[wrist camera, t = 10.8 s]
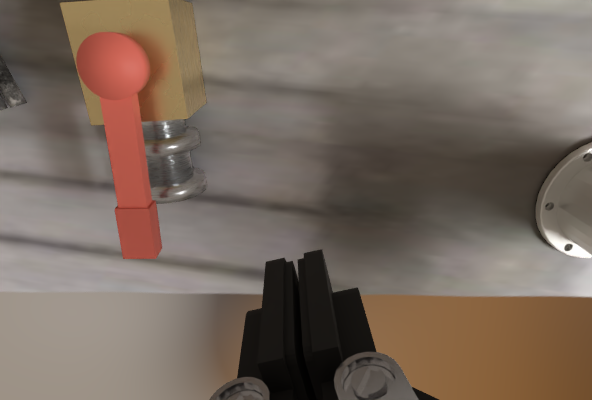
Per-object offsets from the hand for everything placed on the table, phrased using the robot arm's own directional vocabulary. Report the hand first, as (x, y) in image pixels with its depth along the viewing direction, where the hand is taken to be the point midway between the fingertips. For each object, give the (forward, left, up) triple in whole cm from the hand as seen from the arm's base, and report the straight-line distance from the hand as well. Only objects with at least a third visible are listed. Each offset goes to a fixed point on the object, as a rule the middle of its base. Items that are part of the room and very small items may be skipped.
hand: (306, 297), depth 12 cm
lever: (+11, 0, -18) cm, 21 cm away
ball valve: (+11, -6, -27) cm, 30 cm away
